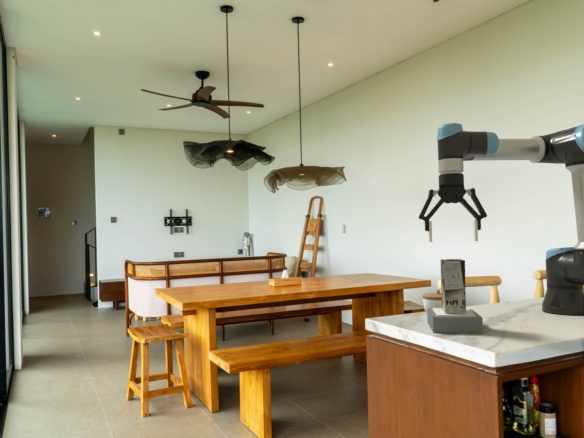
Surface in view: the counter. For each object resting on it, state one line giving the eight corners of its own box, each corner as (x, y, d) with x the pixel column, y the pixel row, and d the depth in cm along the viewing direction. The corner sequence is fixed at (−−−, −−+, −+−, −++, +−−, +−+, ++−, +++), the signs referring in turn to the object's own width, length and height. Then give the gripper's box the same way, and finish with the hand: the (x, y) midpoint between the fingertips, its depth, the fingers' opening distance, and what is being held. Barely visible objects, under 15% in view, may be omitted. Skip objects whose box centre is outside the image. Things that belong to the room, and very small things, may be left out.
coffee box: (466, 314, 147) (465, 260, 148) (444, 313, 149) (443, 260, 149) (462, 309, 156) (461, 258, 157) (441, 309, 158) (440, 258, 158)
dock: (472, 323, 159) (471, 307, 159) (482, 333, 143) (482, 316, 143) (427, 322, 161) (427, 307, 162) (433, 332, 146) (432, 315, 146)
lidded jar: (461, 318, 167) (460, 291, 167) (432, 320, 165) (431, 292, 165) (445, 313, 178) (444, 287, 178) (417, 315, 176) (417, 289, 176)
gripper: (490, 173, 156) (492, 240, 155) (409, 176, 160) (411, 241, 159) (495, 170, 148) (498, 241, 148) (411, 173, 152) (412, 242, 152)
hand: (452, 241), depth 154 cm, fingers open, 13 cm apart
